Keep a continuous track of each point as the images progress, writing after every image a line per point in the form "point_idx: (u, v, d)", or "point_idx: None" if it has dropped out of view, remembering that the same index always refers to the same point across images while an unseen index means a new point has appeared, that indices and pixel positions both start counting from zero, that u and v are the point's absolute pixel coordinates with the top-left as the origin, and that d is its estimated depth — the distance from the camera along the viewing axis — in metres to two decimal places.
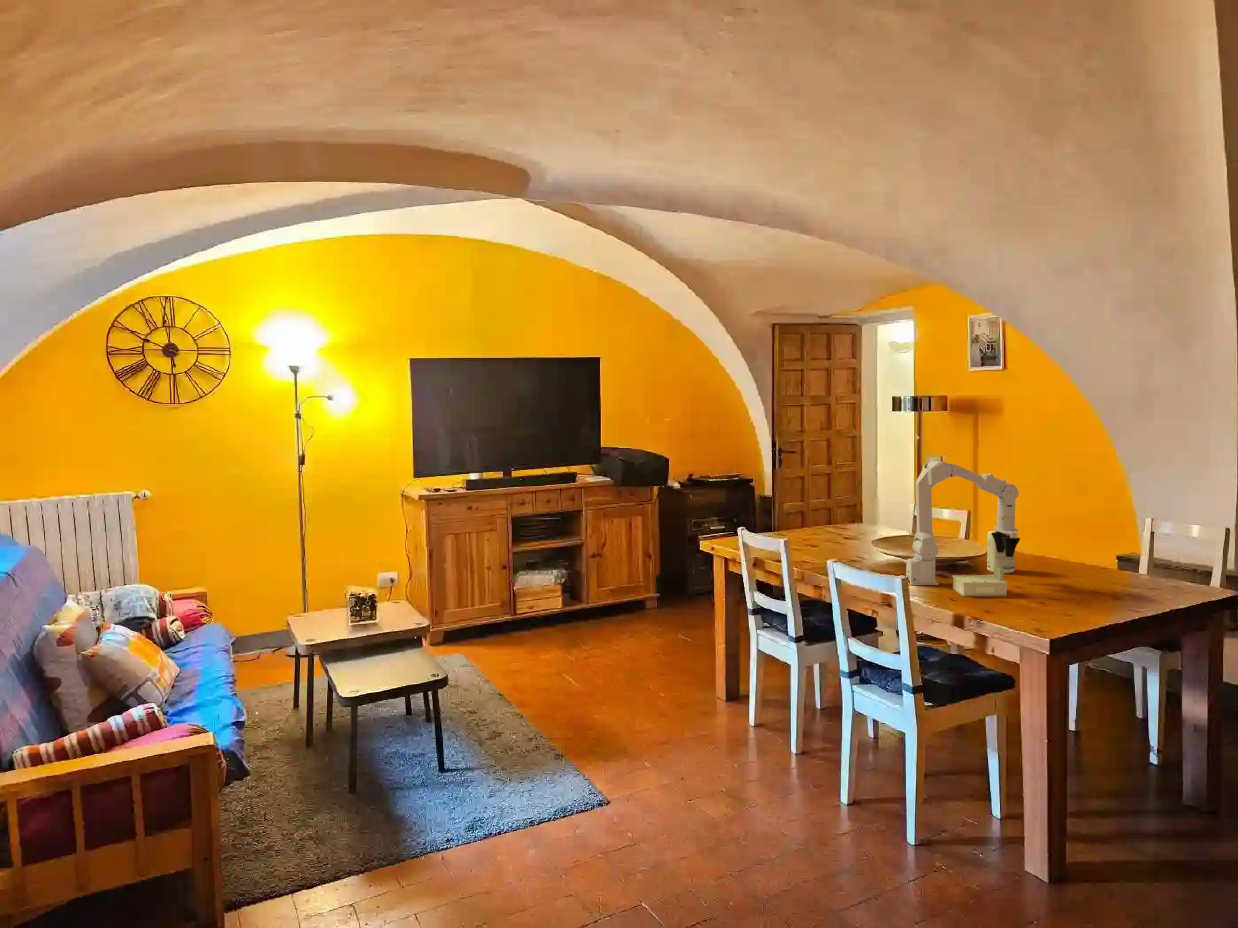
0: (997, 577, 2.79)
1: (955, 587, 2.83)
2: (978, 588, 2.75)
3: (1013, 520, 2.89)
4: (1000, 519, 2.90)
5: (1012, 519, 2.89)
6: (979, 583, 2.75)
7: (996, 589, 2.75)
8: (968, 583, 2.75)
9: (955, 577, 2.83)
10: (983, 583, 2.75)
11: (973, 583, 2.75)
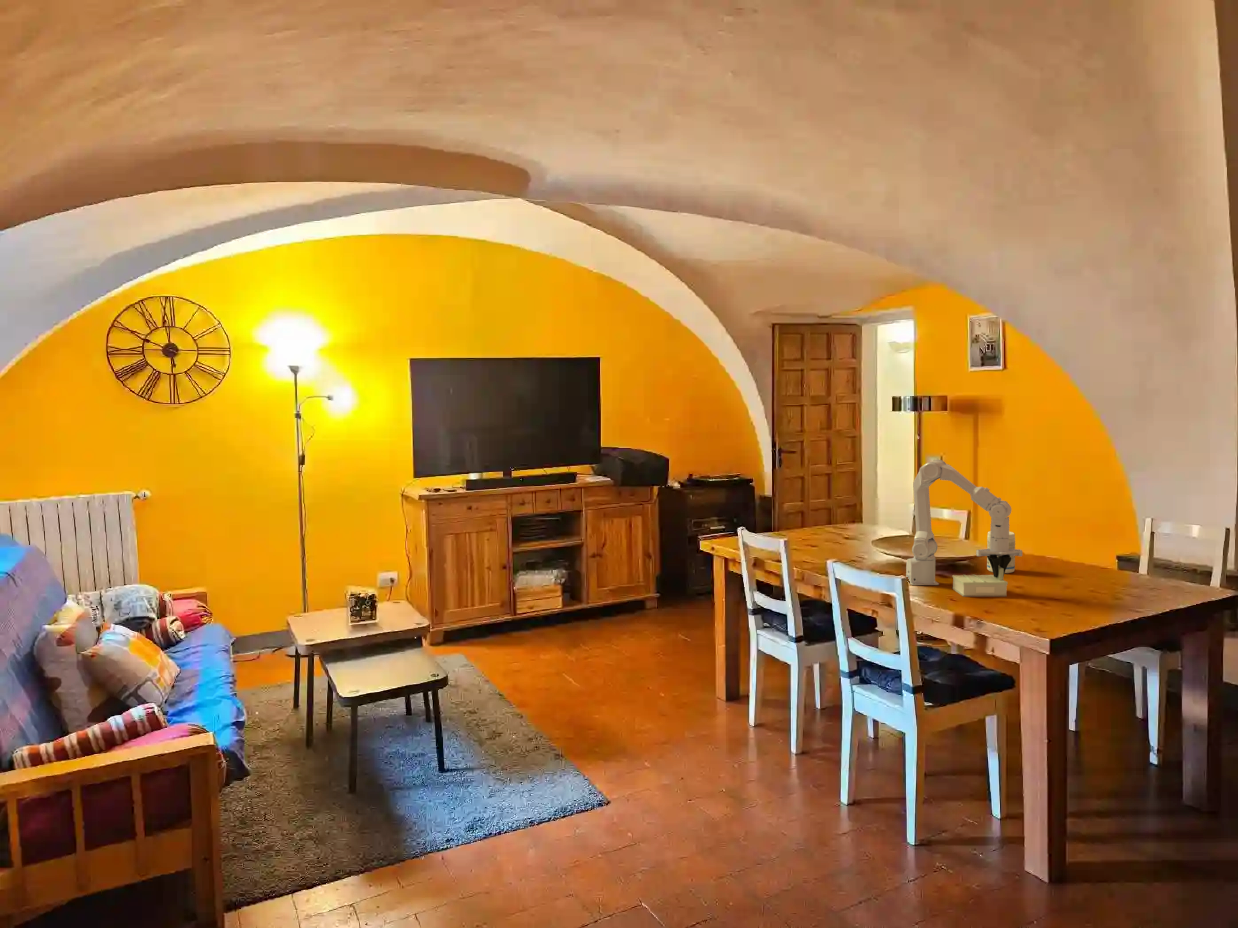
0: None
1: (955, 587, 2.83)
2: (978, 588, 2.75)
3: (994, 541, 2.77)
4: None
5: (993, 539, 2.77)
6: (979, 583, 2.75)
7: (996, 589, 2.75)
8: (968, 583, 2.75)
9: (955, 577, 2.83)
10: (983, 583, 2.75)
11: (973, 583, 2.75)
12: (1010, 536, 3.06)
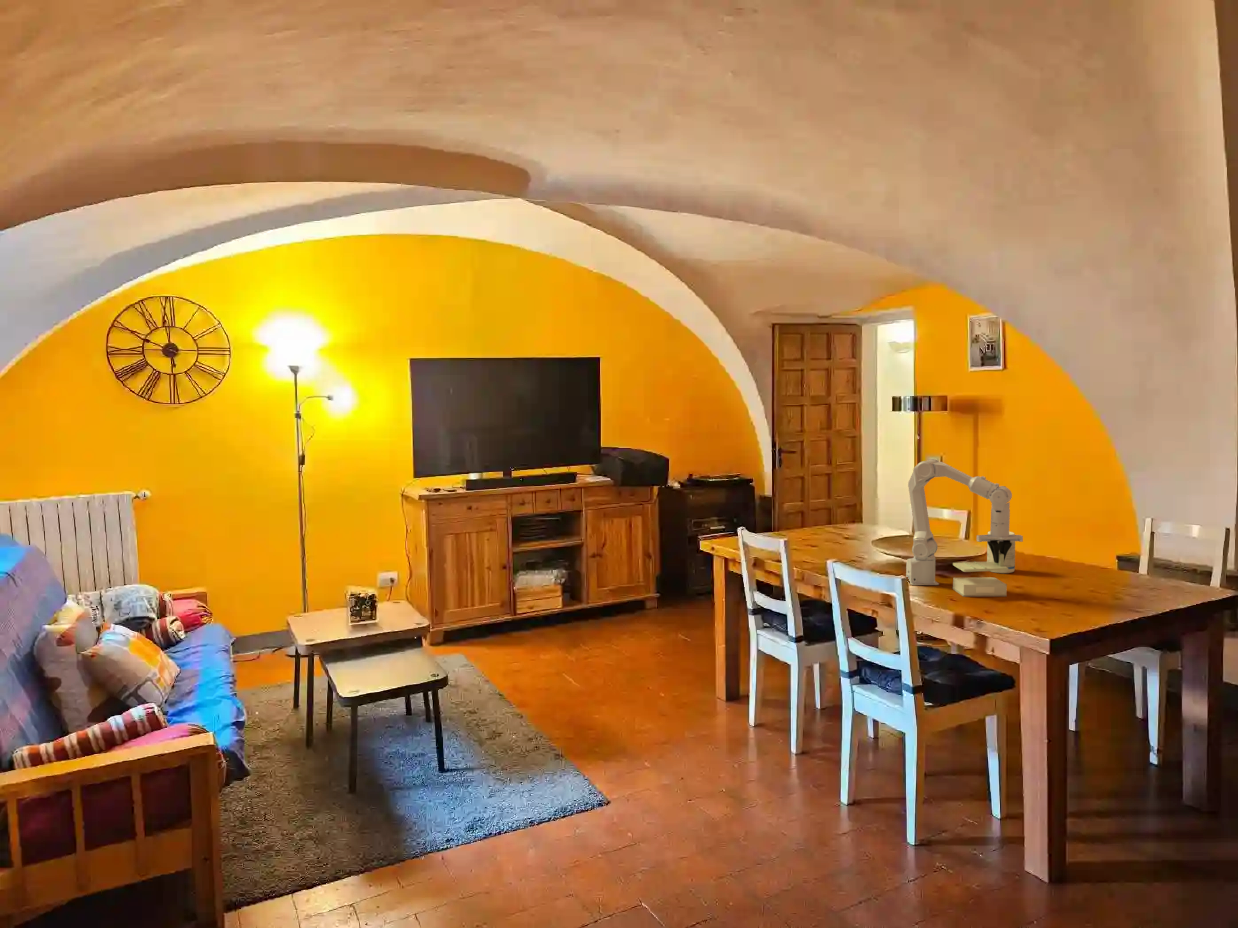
0: (997, 563, 2.78)
1: (955, 587, 2.83)
2: (978, 588, 2.75)
3: (995, 526, 2.76)
4: None
5: (993, 525, 2.77)
6: (980, 570, 2.74)
7: (996, 589, 2.75)
8: (969, 570, 2.75)
9: (955, 564, 2.82)
10: (984, 569, 2.74)
11: (974, 570, 2.74)
12: None
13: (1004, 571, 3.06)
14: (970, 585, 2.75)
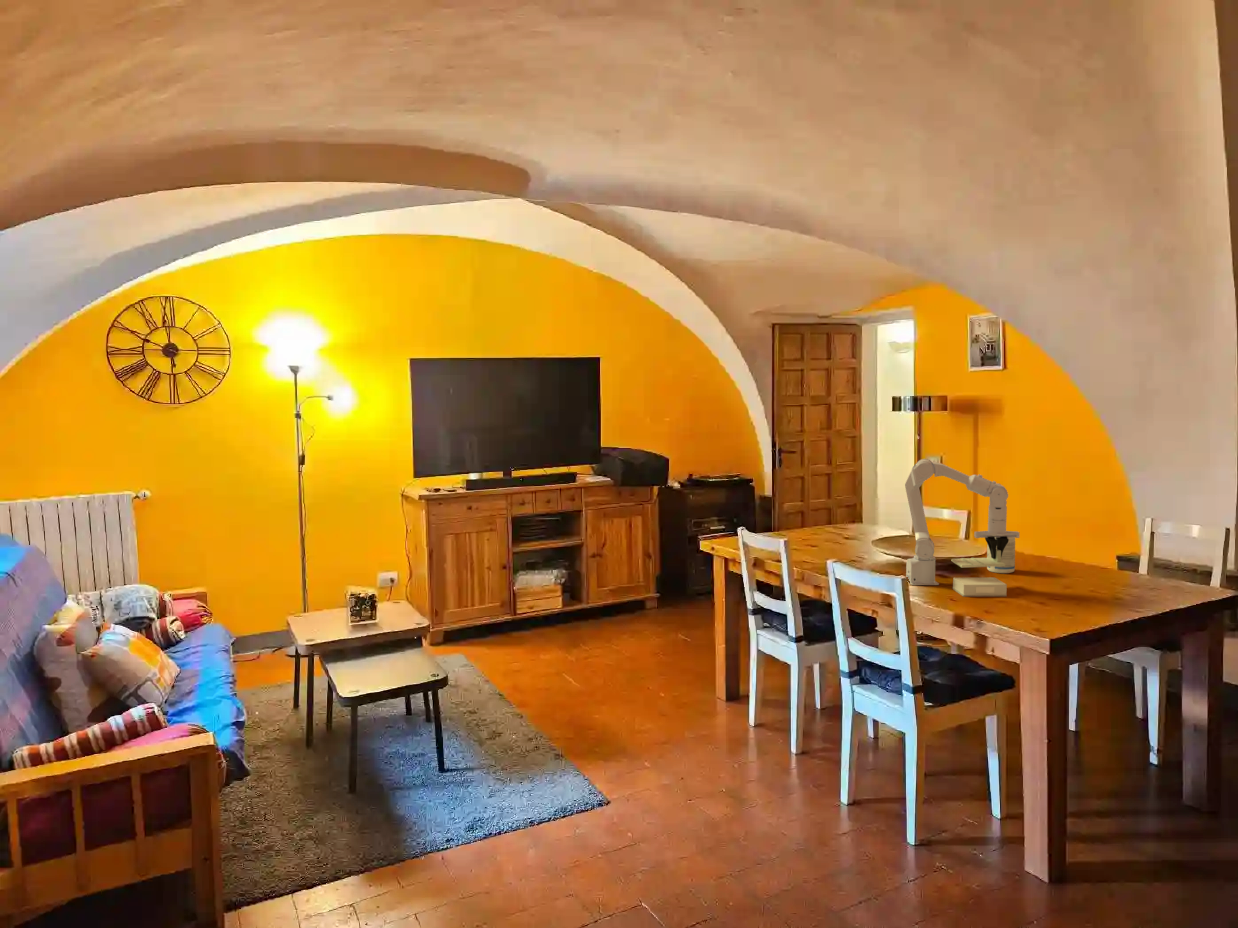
0: (995, 559, 2.85)
1: (955, 587, 2.83)
2: (978, 588, 2.75)
3: (992, 523, 2.83)
4: None
5: (991, 521, 2.83)
6: (977, 565, 2.81)
7: (996, 589, 2.75)
8: (966, 566, 2.81)
9: (954, 560, 2.89)
10: (981, 565, 2.81)
11: (971, 565, 2.81)
12: None
13: (1004, 571, 3.06)
14: (970, 585, 2.75)
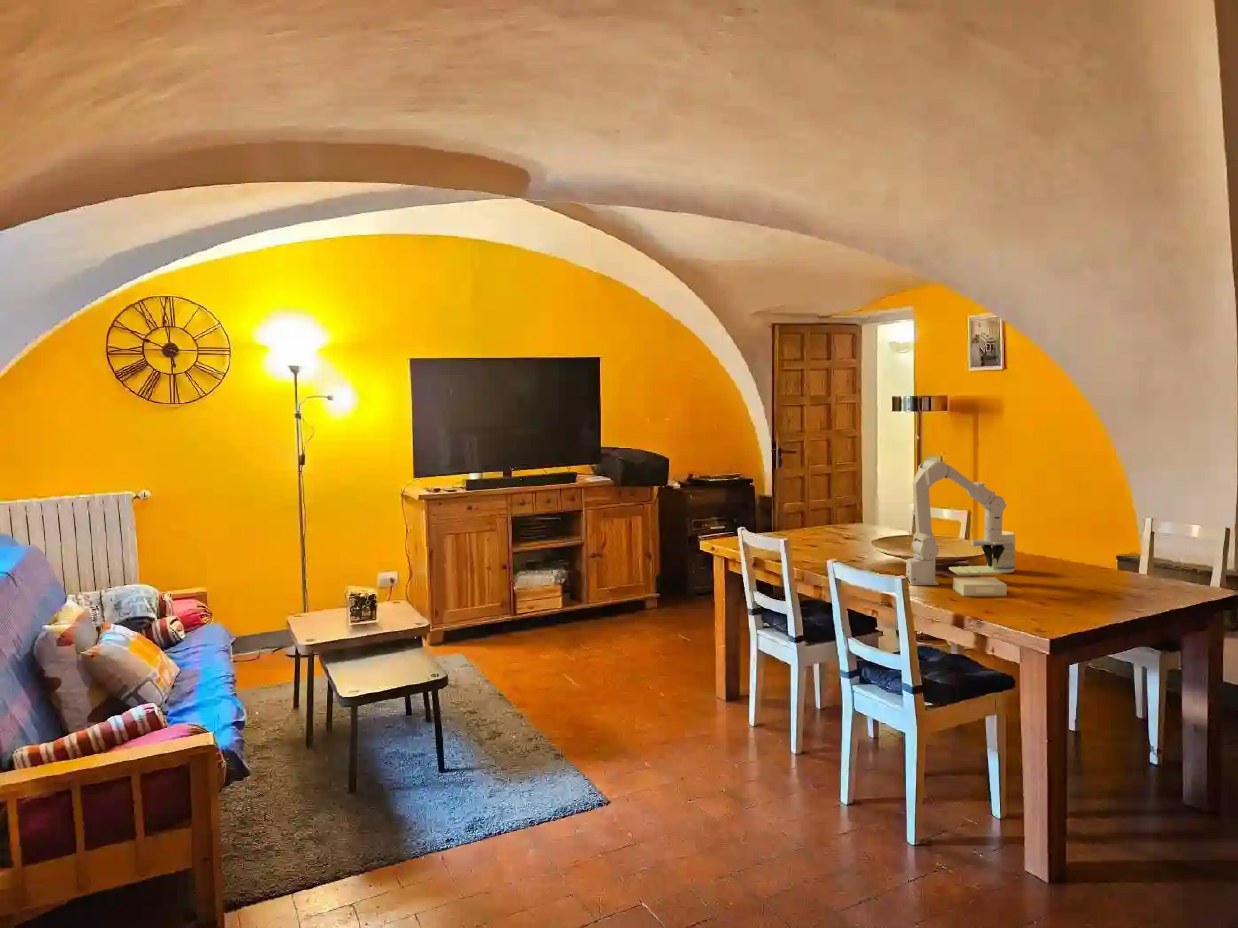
0: (991, 567, 2.95)
1: (955, 587, 2.83)
2: (978, 588, 2.75)
3: (988, 532, 2.92)
4: None
5: (987, 530, 2.93)
6: (974, 573, 2.91)
7: (996, 589, 2.75)
8: (964, 574, 2.91)
9: (951, 569, 2.98)
10: (978, 573, 2.90)
11: (968, 574, 2.91)
12: (1010, 536, 3.06)
13: (1004, 571, 3.06)
14: (970, 585, 2.75)
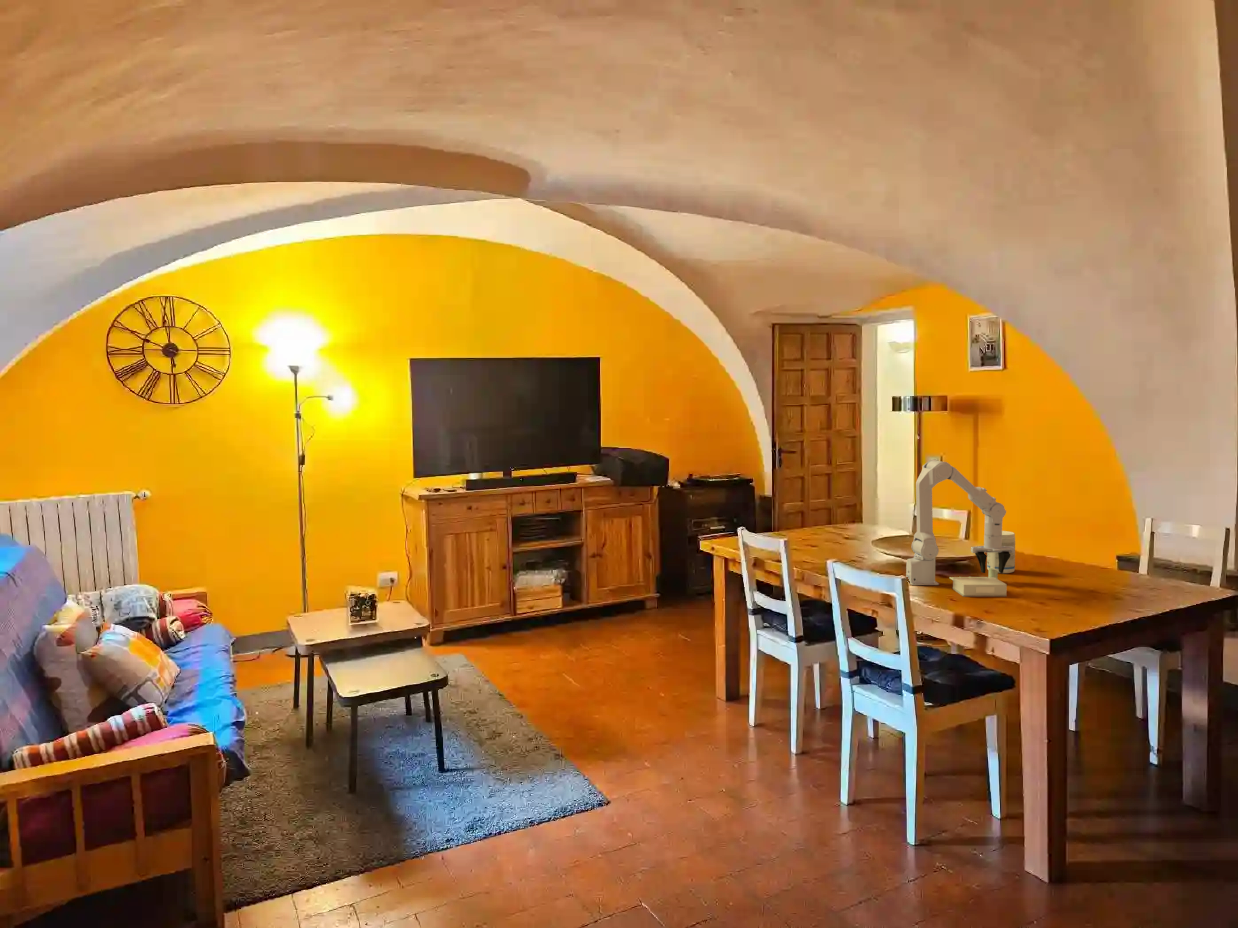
0: None
1: (955, 587, 2.83)
2: (978, 588, 2.75)
3: (988, 538, 2.93)
4: None
5: (987, 537, 2.93)
6: None
7: (996, 589, 2.75)
8: None
9: (952, 579, 2.99)
10: None
11: None
12: (1010, 536, 3.06)
13: (1004, 571, 3.06)
14: (970, 585, 2.75)
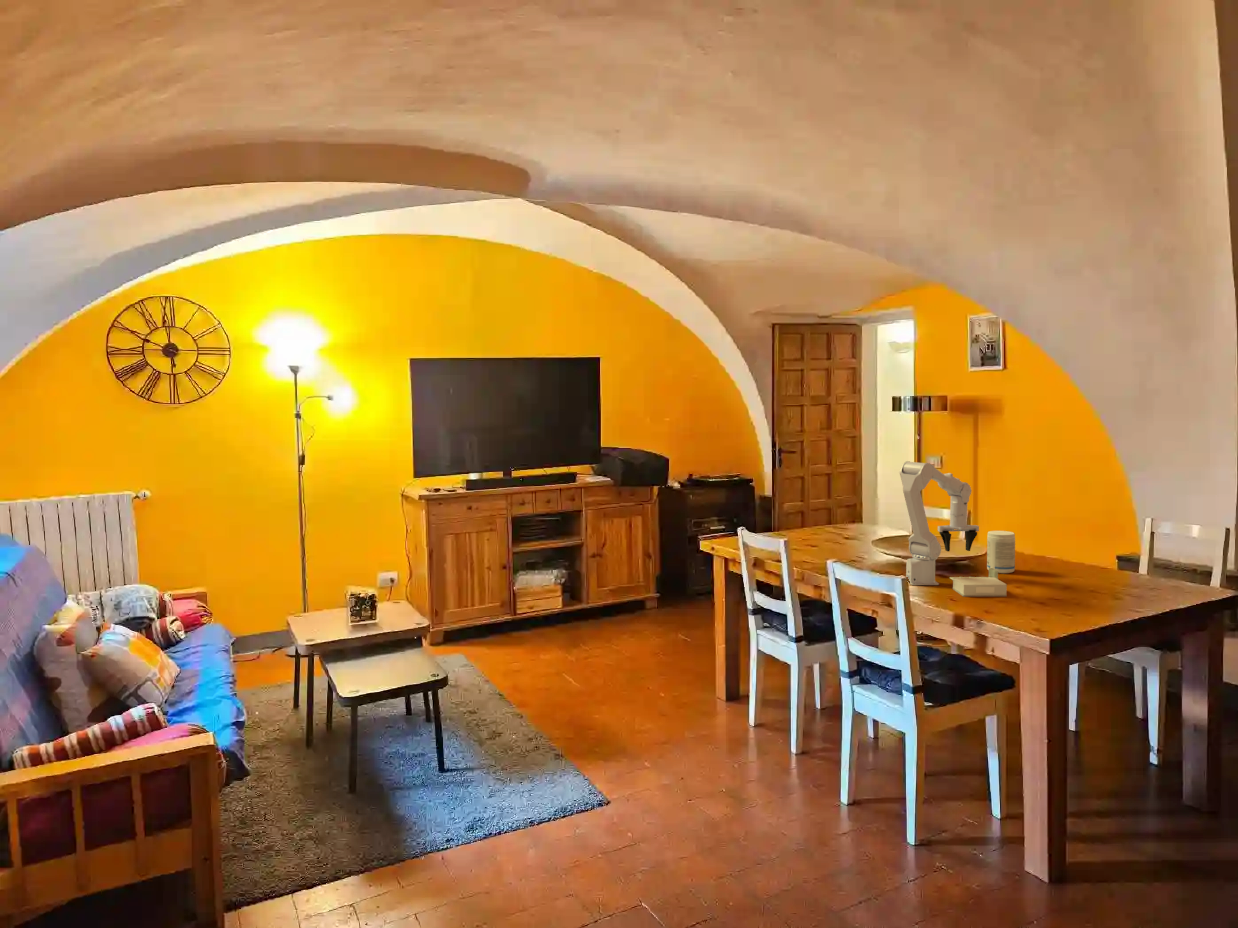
0: None
1: (955, 587, 2.83)
2: (978, 588, 2.75)
3: (954, 517, 3.01)
4: None
5: (953, 516, 3.01)
6: None
7: (996, 589, 2.75)
8: None
9: (952, 579, 2.99)
10: None
11: None
12: (1010, 536, 3.06)
13: (1004, 571, 3.06)
14: (970, 585, 2.75)
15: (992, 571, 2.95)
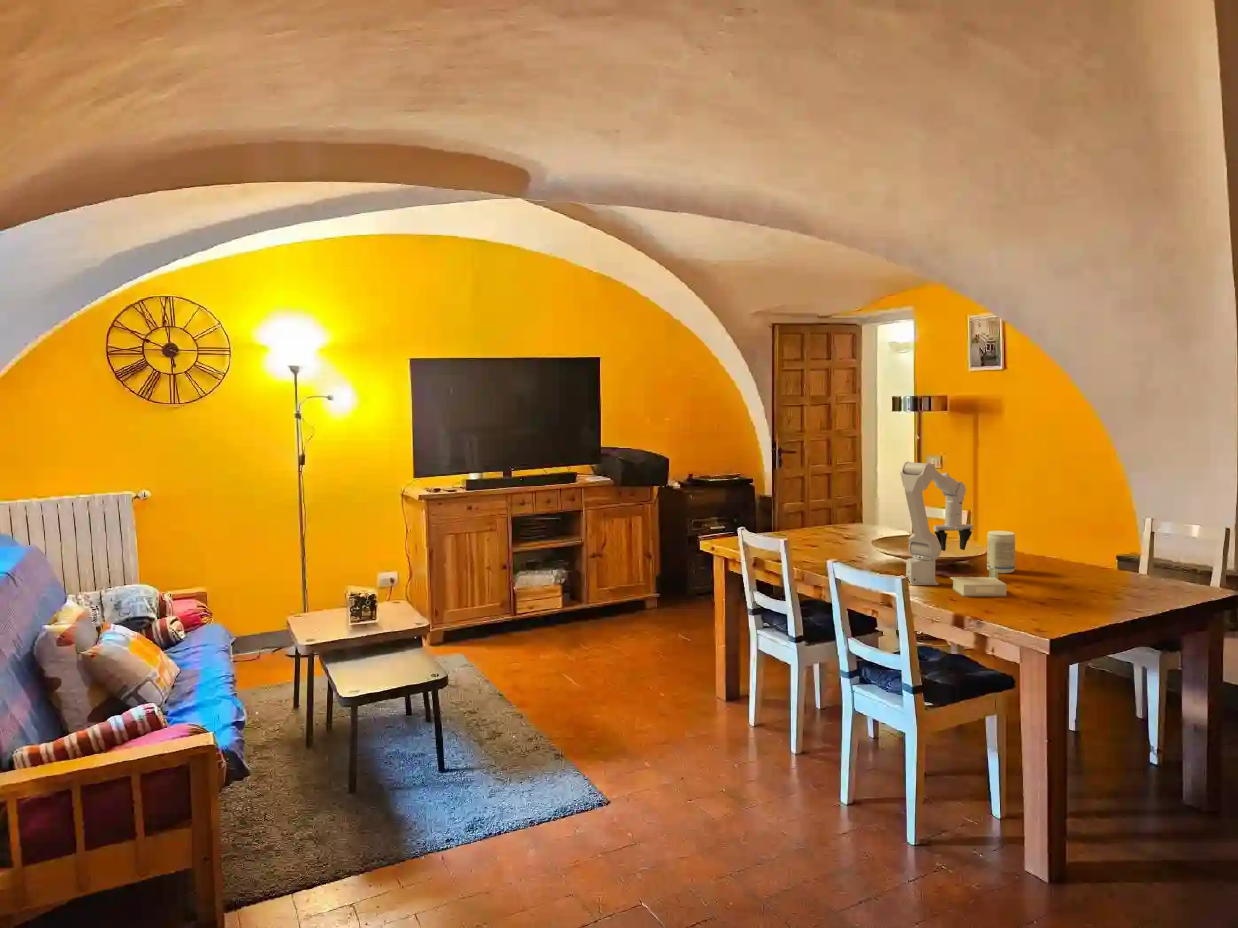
0: None
1: (955, 587, 2.83)
2: (978, 588, 2.75)
3: (950, 517, 3.02)
4: None
5: (948, 515, 3.02)
6: None
7: (996, 589, 2.75)
8: None
9: (952, 579, 2.99)
10: None
11: None
12: (1010, 536, 3.06)
13: (1004, 571, 3.06)
14: (970, 585, 2.75)
15: (992, 571, 2.95)
